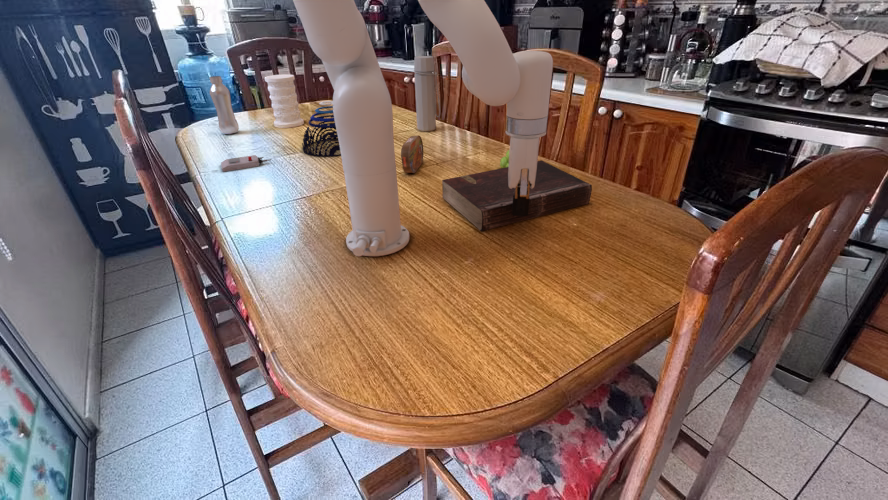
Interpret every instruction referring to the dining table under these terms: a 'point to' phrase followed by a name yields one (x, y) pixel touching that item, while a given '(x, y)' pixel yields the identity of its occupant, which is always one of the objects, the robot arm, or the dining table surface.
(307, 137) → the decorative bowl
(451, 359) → the dining table surface
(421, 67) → the water bottle
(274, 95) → the decorative container
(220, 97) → the plastic bottle
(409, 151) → the tin
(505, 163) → the grapes
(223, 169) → the moisture meter
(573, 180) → the hardback book
